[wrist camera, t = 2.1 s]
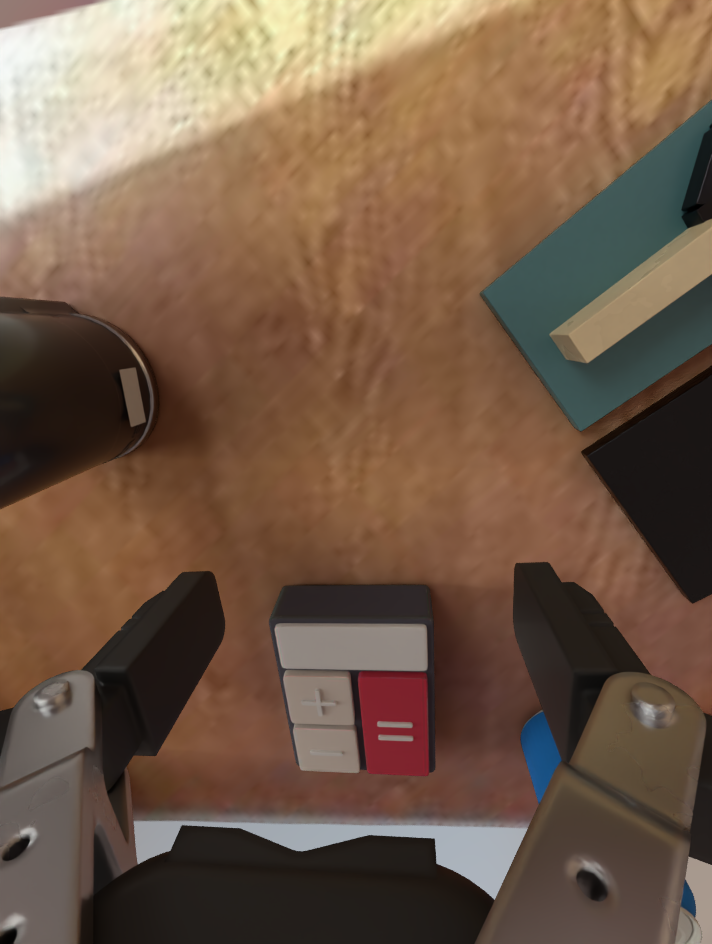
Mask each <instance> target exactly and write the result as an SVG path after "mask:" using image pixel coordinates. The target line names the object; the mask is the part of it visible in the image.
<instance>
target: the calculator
mask: <svg viewBox="0 0 712 944" xmlns="http://www.w3.org/2000/svg"><path fill="white" fill-rule="evenodd" d="M269 625H270V630H271V635H272V640H273V645H274V651H275V656H276V661H277V666H278V671H279V677H280V682H281V687H282V692H283V697H284V702H285V708H286V713H287V718H288V723H289V728H290V734H291V739H292V744H293V749H294V754H295V759H296V763H297V765H298V766H300V769H301V770H304V771H323V772H345V773H358V772H359V771H360V770H367V771H368V773H371V774H388V775H409V776H428V775H429V773H431V772H433V771H434V770H435V689H434V621H433V611H432V602H431V594H430V589H429V587H428V586H426V585H315V586H284V587H283V588H282V590H281V592H280V594H279V597H278V599H277V602H276V604H275V607H274V609H273V611H272V614H271V617H270V619H269Z"/></svg>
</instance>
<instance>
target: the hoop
mask: <svg viewBox="0 0 712 944" xmlns="http://www.w3.org/2000/svg"><path fill="white" fill-rule="evenodd" d="M709 128H710V130H708V131H707V132H705V133H704V135H703V138H702V142H701V145H700V148H699V152H698V155H697V158H696V162H695V165H694V168H693V172H692V175H691V178H690V182H689V185H688V188H687V192H686V195H685V198H684V202H683V205H682V208H681V210H682V211H687V212H686V213H685V214H683V215H682V216H681V217H682V219H683V221H684V223H685V224H686V226H687V228H688V229H687V230H685V231H684V232H683V233H681V234H680V235H679V236H677V237H676V238H675V239H673V240H672V241H671V242H670V243H668V244H667V245H666V246H664V247H663V248H662V249H660V250H659V251H658V252H656V253H655V254H654V255H652V256H651V257H650V258H648V259H647V260H646V261H645V262H643V263H642V264H641V265H639V266H638V267H637V268H635V269H634V270H633V271H631V272H630V273H629V274H627V275H626V276H625V277H623V278H622V279H621V280H620V281H618V282H617V283H616V284H614V285H613V286H612V287H610V288H609V289H608V290H606V291H605V292H604V293H602V294H601V295H600V296H598V297H597V298H596V299H595V300H593V301H592V302H591V303H589V304H588V305H587V306H585V307H584V308H583V309H581V310H580V311H579V312H577V313H576V314H575V315H573V316H572V317H571V318H570V319H568V320H567V321H566V322H564V323H563V324H562V325H560V326H559V327H558V328H556V329H555V330H554V331H552V332H551V333H550V334H549V335H550V337H551V338H552V339H553V341H554V342H555V344H556V345H557V347H558V348H559V350H560V351H561V353H562V354H563V356H564V357H565V358H566V359H567V360H572V361H577V362H583V363H589V362H590V361H592V360H593V359H594V358H596V357H597V356H599V355H600V354H601V353H603V352H604V351H606V350H607V349H608V348H610V347H611V346H613V345H614V344H615V343H617V342H618V341H620V340H621V339H622V338H624V337H625V336H626V335H628V334H629V333H631V332H632V331H633V330H635V329H636V328H638V327H639V326H640V325H642V324H643V323H645V322H646V321H647V320H649V319H650V318H652V317H653V316H654V315H656V314H657V313H659V312H660V311H661V310H663V309H664V308H666V307H667V306H668V305H670V304H671V303H672V302H674V301H675V300H677V299H678V298H679V297H681V296H682V295H684V294H685V293H686V292H688V291H689V290H691V289H692V288H693V287H695V286H696V285H698V284H699V283H700V282H702V281H703V280H705V279H706V278H707V277H709V276H710V275H712V124H711V125H710V126H709Z"/></svg>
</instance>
